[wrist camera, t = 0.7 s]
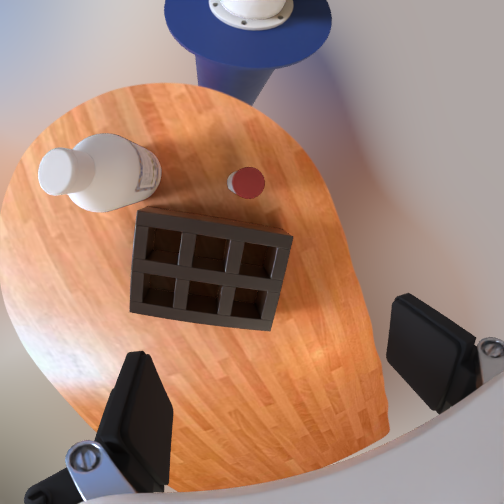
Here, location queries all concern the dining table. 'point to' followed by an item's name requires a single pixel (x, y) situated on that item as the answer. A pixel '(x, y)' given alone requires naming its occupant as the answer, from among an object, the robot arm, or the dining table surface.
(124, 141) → the bath foam
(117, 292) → the dining table surface
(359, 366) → the dining table surface
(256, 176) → the test tube
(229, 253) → the rack
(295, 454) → the dining table surface
